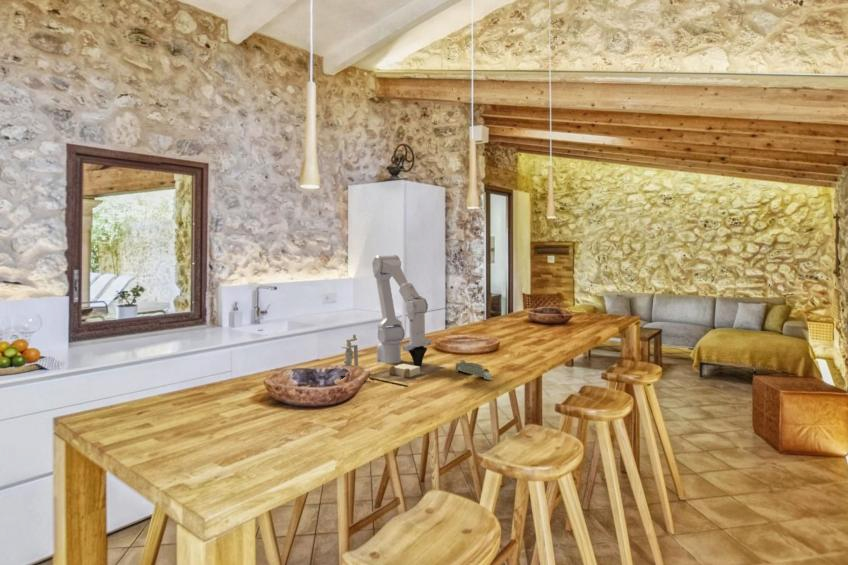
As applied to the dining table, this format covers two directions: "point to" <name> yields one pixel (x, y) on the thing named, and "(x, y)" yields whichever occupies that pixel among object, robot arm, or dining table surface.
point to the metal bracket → (473, 369)
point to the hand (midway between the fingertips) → (417, 366)
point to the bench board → (398, 377)
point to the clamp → (351, 352)
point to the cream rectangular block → (413, 369)
